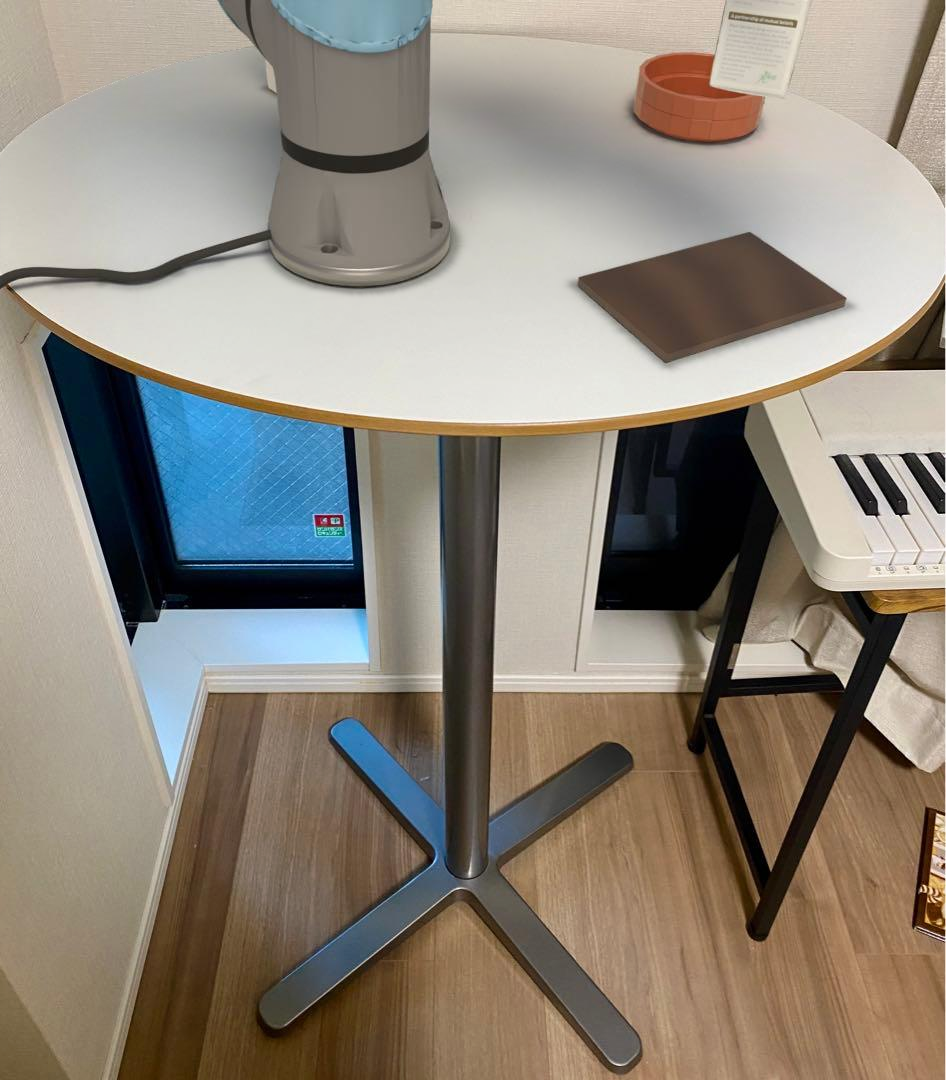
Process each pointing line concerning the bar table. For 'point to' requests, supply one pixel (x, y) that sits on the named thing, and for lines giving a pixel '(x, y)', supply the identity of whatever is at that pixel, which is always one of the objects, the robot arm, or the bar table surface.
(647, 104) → the bowl
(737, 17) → the syrup box
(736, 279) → the mat
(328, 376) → the bar table surface
